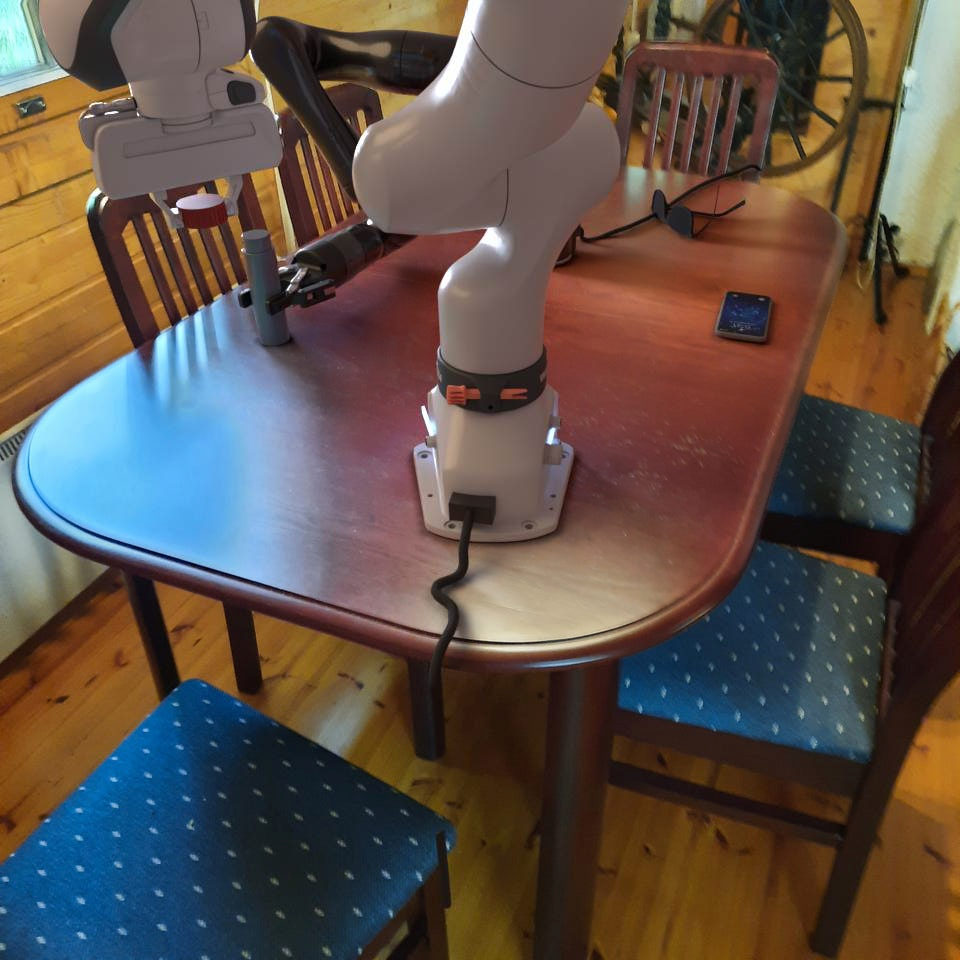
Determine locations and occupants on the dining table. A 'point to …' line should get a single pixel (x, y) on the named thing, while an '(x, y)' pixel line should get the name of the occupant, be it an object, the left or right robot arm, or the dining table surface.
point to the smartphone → (744, 316)
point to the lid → (202, 211)
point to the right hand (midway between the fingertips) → (254, 305)
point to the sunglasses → (682, 214)
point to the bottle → (264, 286)
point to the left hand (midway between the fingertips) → (204, 220)
